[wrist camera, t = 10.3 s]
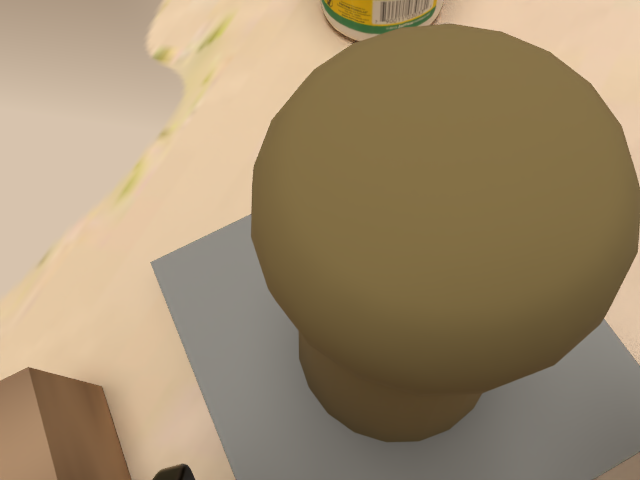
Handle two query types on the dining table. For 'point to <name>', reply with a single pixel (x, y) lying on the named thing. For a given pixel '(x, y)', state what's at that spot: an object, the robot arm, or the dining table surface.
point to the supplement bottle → (378, 15)
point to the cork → (440, 222)
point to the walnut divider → (56, 430)
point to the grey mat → (361, 451)
